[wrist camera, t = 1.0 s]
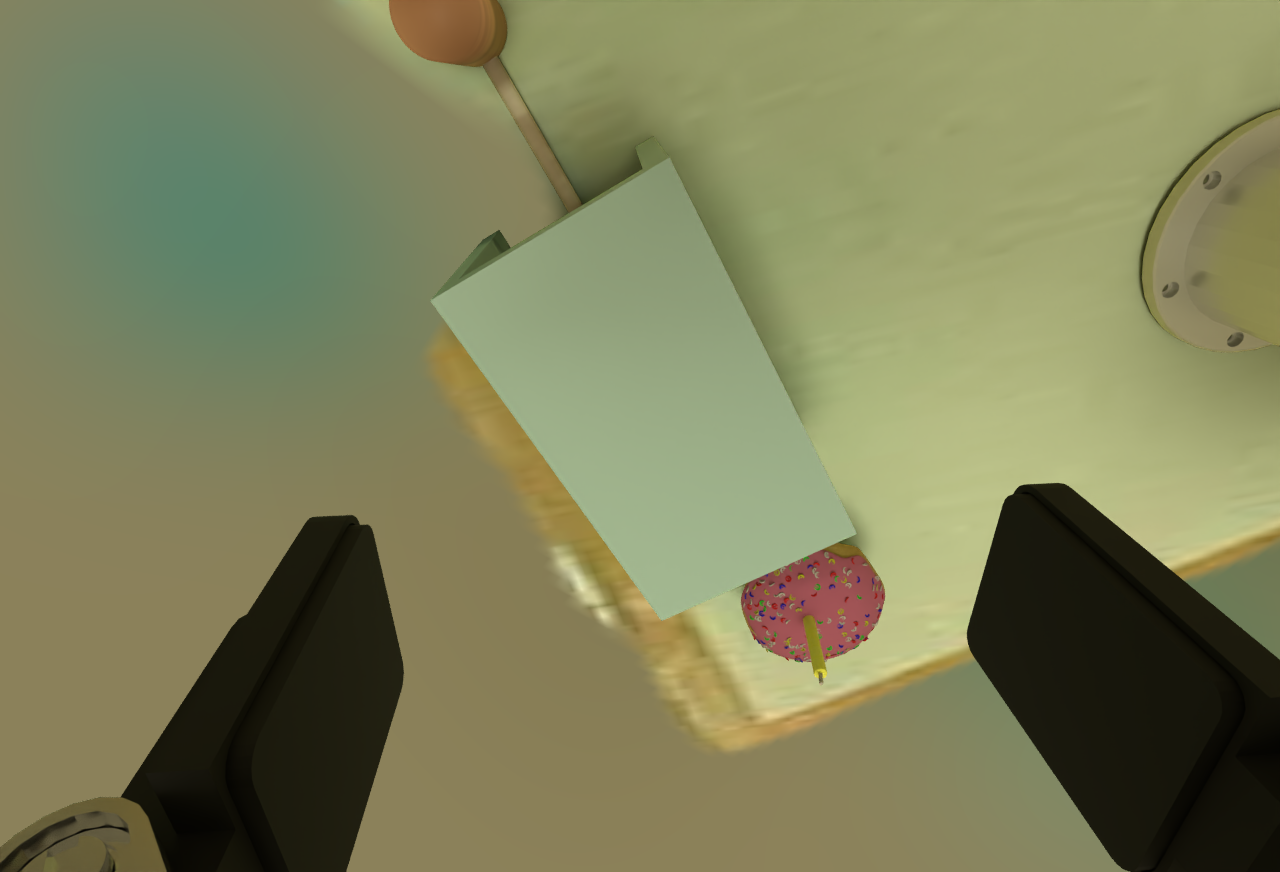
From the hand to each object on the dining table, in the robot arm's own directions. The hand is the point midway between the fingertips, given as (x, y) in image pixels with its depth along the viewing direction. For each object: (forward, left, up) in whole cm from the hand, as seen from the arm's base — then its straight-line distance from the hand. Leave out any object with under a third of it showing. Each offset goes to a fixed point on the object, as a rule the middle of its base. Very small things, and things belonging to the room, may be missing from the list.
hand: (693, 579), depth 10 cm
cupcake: (+1, +23, -28) cm, 37 cm away
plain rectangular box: (+2, +5, -28) cm, 28 cm away
